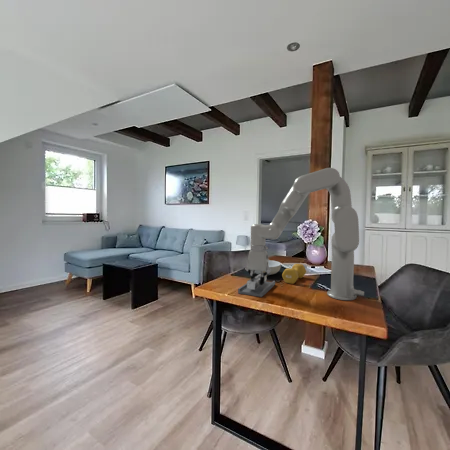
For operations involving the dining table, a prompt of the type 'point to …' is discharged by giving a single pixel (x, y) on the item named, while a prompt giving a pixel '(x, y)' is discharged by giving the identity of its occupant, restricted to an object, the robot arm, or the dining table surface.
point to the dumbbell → (293, 273)
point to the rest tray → (258, 291)
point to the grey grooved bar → (255, 282)
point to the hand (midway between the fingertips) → (257, 283)
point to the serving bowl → (272, 267)
